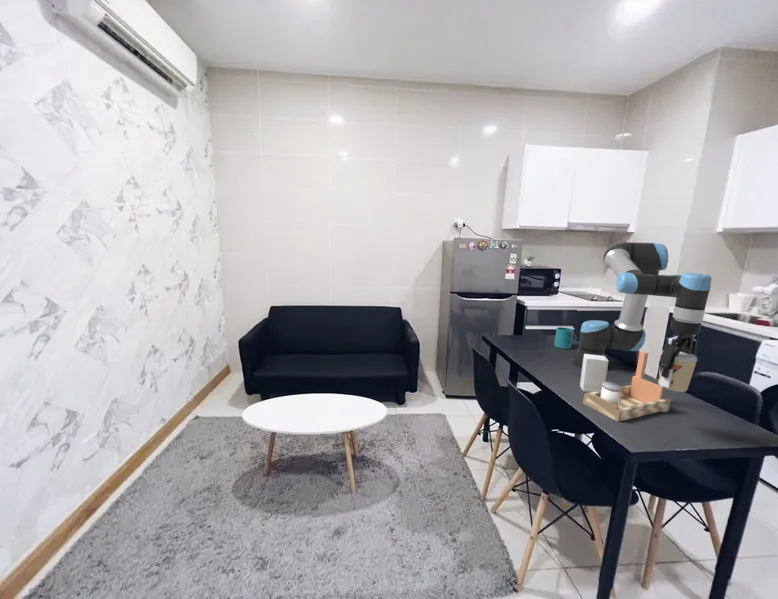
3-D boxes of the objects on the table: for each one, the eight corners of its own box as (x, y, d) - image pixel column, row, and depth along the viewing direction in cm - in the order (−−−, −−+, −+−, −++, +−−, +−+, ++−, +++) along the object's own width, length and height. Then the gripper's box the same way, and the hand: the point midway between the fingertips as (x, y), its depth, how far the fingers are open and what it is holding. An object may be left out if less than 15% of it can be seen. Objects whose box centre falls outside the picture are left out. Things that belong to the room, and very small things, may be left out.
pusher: (634, 394, 141) (642, 351, 138) (663, 406, 132) (672, 360, 128) (629, 395, 140) (637, 351, 137) (657, 408, 130) (667, 361, 127)
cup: (578, 350, 201) (581, 331, 199) (558, 349, 201) (561, 330, 199) (571, 345, 210) (573, 327, 207) (551, 344, 210) (554, 326, 208)
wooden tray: (631, 394, 143) (633, 382, 142) (668, 410, 131) (671, 397, 129) (582, 405, 133) (584, 391, 131) (617, 423, 120) (620, 408, 119)
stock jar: (605, 404, 132) (609, 380, 130) (621, 412, 126) (626, 387, 124) (594, 407, 129) (598, 382, 128) (610, 415, 124) (614, 389, 122)
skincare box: (600, 389, 147) (605, 355, 144) (604, 396, 141) (610, 360, 138) (578, 386, 150) (583, 352, 147) (581, 392, 144) (586, 357, 141)
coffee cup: (648, 380, 120) (654, 348, 118) (672, 380, 121) (679, 348, 119) (671, 393, 111) (679, 358, 109) (697, 392, 112) (706, 358, 110)
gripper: (692, 315, 119) (679, 375, 123) (653, 319, 111) (640, 383, 116) (719, 321, 112) (704, 384, 117) (679, 325, 104) (665, 393, 109)
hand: (672, 383), depth 116 cm, fingers closed on coffee cup, 9 cm apart
